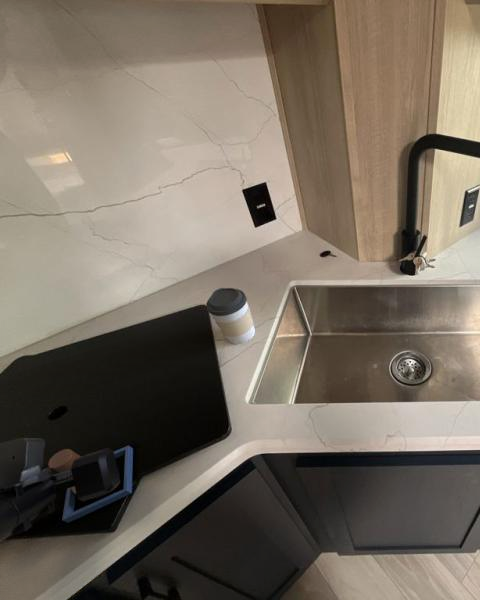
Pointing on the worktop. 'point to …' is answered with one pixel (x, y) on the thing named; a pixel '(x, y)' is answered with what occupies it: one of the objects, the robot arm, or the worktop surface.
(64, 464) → the dish brush
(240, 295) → the coffee cup
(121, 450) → the blue square frame
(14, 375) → the worktop surface
